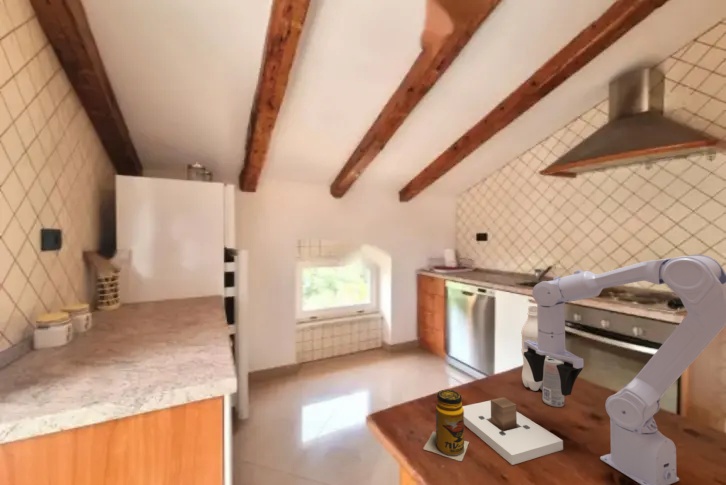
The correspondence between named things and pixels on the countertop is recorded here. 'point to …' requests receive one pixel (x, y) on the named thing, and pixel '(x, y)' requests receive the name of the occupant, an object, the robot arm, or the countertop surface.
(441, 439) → the condiment
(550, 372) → the energy drink
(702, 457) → the countertop surface
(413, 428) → the countertop surface
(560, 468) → the countertop surface
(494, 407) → the walnut peg
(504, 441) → the hole board
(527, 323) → the water bottle
